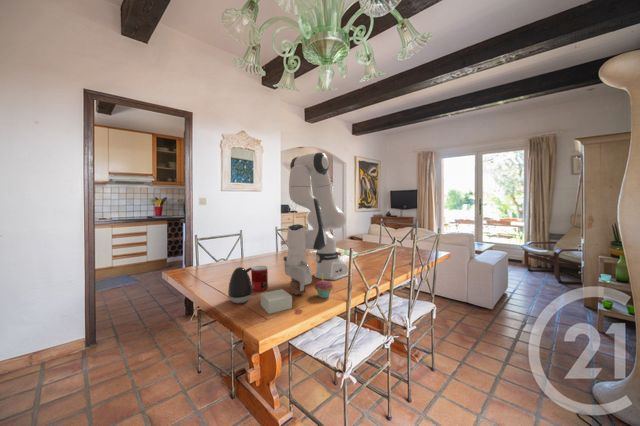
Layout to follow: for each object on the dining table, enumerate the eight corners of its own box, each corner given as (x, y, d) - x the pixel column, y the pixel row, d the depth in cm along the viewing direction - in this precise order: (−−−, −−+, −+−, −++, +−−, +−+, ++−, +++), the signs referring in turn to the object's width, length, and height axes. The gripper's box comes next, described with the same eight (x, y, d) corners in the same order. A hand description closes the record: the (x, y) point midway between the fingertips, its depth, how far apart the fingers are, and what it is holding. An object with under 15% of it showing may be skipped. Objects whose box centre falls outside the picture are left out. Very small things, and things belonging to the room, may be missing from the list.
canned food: (264, 292, 123) (263, 270, 122) (248, 291, 124) (248, 269, 124) (270, 287, 130) (269, 265, 130) (255, 286, 132) (255, 265, 131)
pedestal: (282, 300, 113) (282, 289, 113) (292, 308, 105) (292, 296, 104) (260, 305, 108) (260, 293, 108) (269, 314, 100) (268, 301, 99)
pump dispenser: (256, 302, 111) (255, 268, 110) (231, 308, 105) (230, 272, 105) (249, 295, 120) (248, 263, 119) (226, 299, 114) (225, 266, 113)
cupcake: (329, 300, 112) (329, 273, 111) (311, 298, 115) (311, 272, 114) (335, 293, 120) (334, 268, 120) (318, 291, 123) (318, 267, 122)
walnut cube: (300, 288, 124) (299, 278, 123) (305, 292, 119) (305, 281, 119) (290, 291, 121) (290, 281, 120) (295, 294, 117) (295, 284, 116)
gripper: (314, 263, 112) (315, 293, 113) (293, 254, 129) (293, 281, 130) (302, 265, 109) (303, 297, 110) (281, 256, 126) (282, 283, 127)
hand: (298, 288), depth 120 cm, fingers closed on walnut cube, 5 cm apart
